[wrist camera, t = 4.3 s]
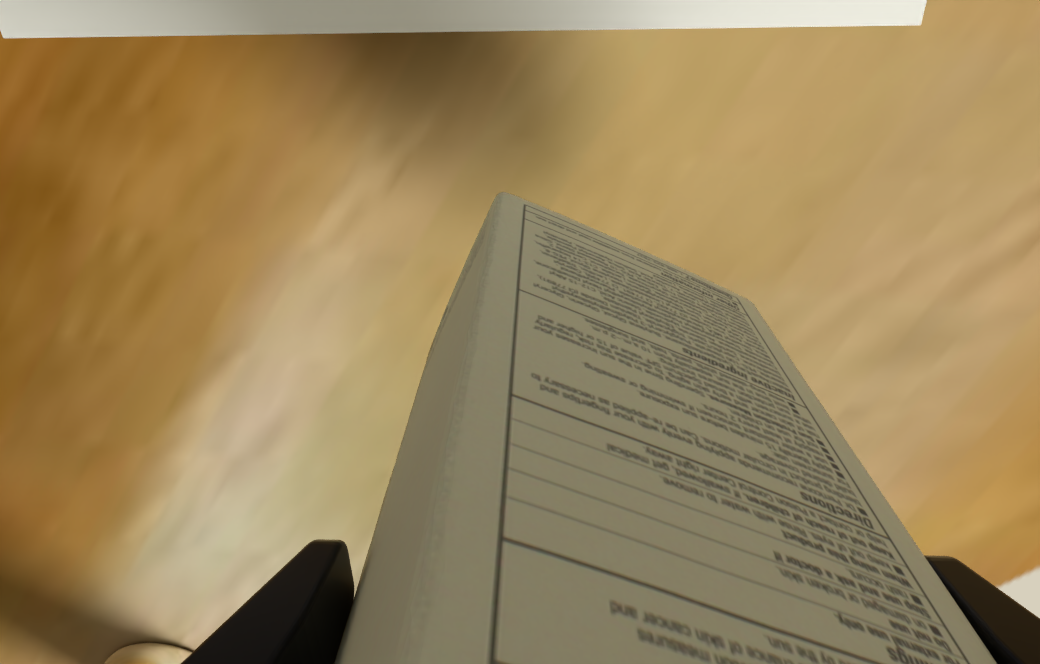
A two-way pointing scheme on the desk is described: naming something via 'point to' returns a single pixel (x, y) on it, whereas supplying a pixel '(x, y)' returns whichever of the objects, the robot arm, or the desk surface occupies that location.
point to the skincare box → (629, 483)
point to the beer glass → (149, 654)
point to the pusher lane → (430, 16)
